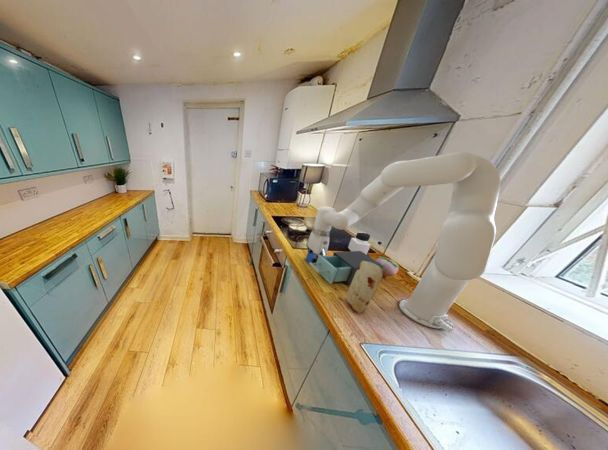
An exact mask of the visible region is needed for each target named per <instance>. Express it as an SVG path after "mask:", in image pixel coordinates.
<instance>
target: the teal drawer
mask: <svg viewBox="0 0 608 450" xmlns="http://www.w3.org/2000/svg"><path fill="white" fill-rule="evenodd" d="M308 265H309V266H310V267H311V268H312V269H313V270H314V271H315V272H316V273H317V275H320V276H322V278H324V280H325V281H327V282H328V284H330V285H331V284H333V282H334V283H337V282H338V283H339V282H343V281H347V280H348V278H349V275H350V273H351V270H352V268H351V267H350V266H349V265H348V264H346V263H345V262H344V261H342V260H341V259H340V258H339V257H337V256H333V255H325V256H324V257H322V256H321V255H319V256H318V259H317V262H316V263H311V262H310V263H308Z"/></svg>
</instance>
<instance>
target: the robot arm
mask: <svg viewBox="0 0 608 450" xmlns="http://www.w3.org/2000/svg"><path fill="white" fill-rule="evenodd" d="M380 173H381V174H379V175H378V176H377V177H376V178H375V179H374V180H373V181H372V182H370V183H369V184H368V185H367V186H365V187H364V188H363V189H362V190H361V191H360V193H359V196H358V197H357V198H356V199H355V200H354V201H352V203H350V204H349V205H348V206H347V207H345V208H344V209H343V210H341V211H337V210H336V209H335V208H334V207H331V206H325V205H324V206H323V205H321V206H320V207H318V209H317V211H316V216H315V218H314V219H315V220H314V223H313V225H312V226H313V227H312V229H311V232H310V234H309V236H308V239H307V242H306V247H307V254H308V253H315V258H314V260H313V263H316V262H317V259H318V255H321V256H322V257H324V256H327V254H328V250H329V246H330V235H331V230H332V228H334V229H336V230H340V231H342V230H346V229H348V228H350V227H352V226H353V225H355V224H356V223H357V222H358V221H360V220H361V219H362V218H364V217H365V216H366V215H368V214H369V213H370V212H372V211H373V210H374V209H377V208H378V207H380V206H381V205H382V204H384V203H385V202H387V201H388V200H389V199H390V198H392V197H393V196H395V195H396V194H397V193H398V192H400V191H402V190H403V189H404V188H413V187H414V188H415V187H425V186H436V185H447V184H452V193H451V198H450V203H449V208H448V212H447V215H446V217H445V218H444V220H443V223H442V225H441V228H440V233H439V238H438V242H437V247H436V252H435V254H434V256H433V258H432V259H431V261H430V263H429V264H428V266H427V268H426V269H425V272H424V273H423V274H422V276H421V278H420V279H419V281H418V283H417V284H416V286H415V288H414V290H413V291H412V293H411V295H410V296H409V298H408V299H403V300H400V302H399V304H398V307H399V309H400V310H401V311H402V312H403V314H405V315H406V316H407V317H408V318H410V319H411V320H413V321H415V322H416V323H419V324H421V325H423V326H425V327H428V328H433V329H443V330H445V331H446V332H447V333H449V334H452V333H454V332H455V328H456V327H457V326H456V325H455V324H453V323H452V322H450V321H449V320H448V318H449V315H448V314H447V313H448V311H449V310H450V309H451V307H452V306H453V305H454V303H455V301H456V300H457V299H458V298H459V296H460V295H461V293H462V292H463V291H464V289H466V287H467V285H468V284H469V282H470V281H473V280H475V279H479V278H480V277H481V276H482V275H483V274H484V273H485V271H486V269H487V267H488V263H489V260H490V257H491V253H492V250H493V246H494V242H495V239H496V234H497V227H496V224H495V215H496V210H497V205H498V202H499V196H500V191H501V183H502V182H501V175H500V173H499V171H498V168H497V167H496V166H495V165H494V164H493V163H492V162H491V161H489V160H488V159H487V158H484V157H482V156H480V155H478V154H474V153H471V152H467V151H453V152H449V153H447V154H441V155H434V156H429V157H422V158H417V159H416V158H415V159H410V160H399V161H398V160H397V161H394V162H392V163H390V164H388V165H387V166H385V167H384V168H383V170H382V171H381V172H380Z"/></svg>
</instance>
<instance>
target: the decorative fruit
mask: <svg viewBox="0 0 608 450" xmlns="http://www.w3.org/2000/svg"><path fill="white" fill-rule="evenodd" d="M374 260H375V261H377V262H378V263H380V264H381V265H383V266H384V267H383V269H382V273H383V275H382V277H393V276H395V275H396V274H397V273H398V272H399V268H400V265H399V263H398V262H396V261H395V260H393V259H391V257H385V256H377V259H374Z"/></svg>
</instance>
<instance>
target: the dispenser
mask: <svg viewBox="0 0 608 450" xmlns="http://www.w3.org/2000/svg"><path fill="white" fill-rule="evenodd" d="M332 256H337V257H339V258H340V259H341V260H342V261H344V262H345V263H346V264H348V265H349V266H350V267H351V268H352V270H351V273H350V275H349V278H348V280H347V281H342V282H343V283H344V284H345V285H347V286H350V285H351V283H352V280H353V278H354V275H355V273H356V271H357V269H358V267H359V265H360V263H361V261H368V262H371V263H374V264H376V265H378V266H379V267H380V268H381V269H383V267H384V266H383V265H381V264H380V263H378V262H377V261H375V260H376V259H374V258H372V257H370V255H368V254H367V255H366V254H364V253H363V252H361V251H335V252H333V255H332Z"/></svg>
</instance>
